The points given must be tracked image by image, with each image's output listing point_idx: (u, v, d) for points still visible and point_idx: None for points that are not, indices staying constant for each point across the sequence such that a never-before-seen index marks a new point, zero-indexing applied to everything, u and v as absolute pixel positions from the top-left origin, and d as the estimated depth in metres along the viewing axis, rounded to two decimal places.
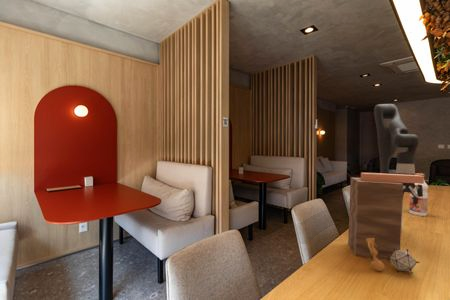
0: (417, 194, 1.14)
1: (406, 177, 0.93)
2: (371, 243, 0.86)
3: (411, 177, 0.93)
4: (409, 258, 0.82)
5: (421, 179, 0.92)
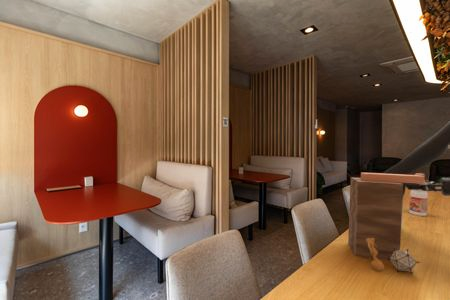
0: None
1: (406, 177, 0.93)
2: (371, 243, 0.86)
3: (411, 177, 0.93)
4: (409, 258, 0.82)
5: (422, 179, 0.92)
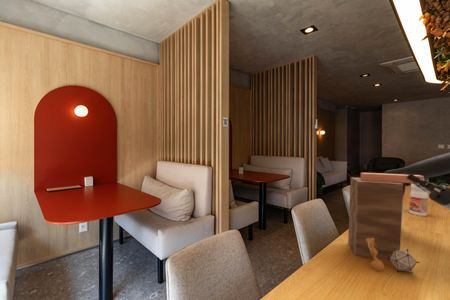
0: None
1: (406, 177, 0.93)
2: (371, 243, 0.86)
3: None
4: (409, 258, 0.82)
5: None
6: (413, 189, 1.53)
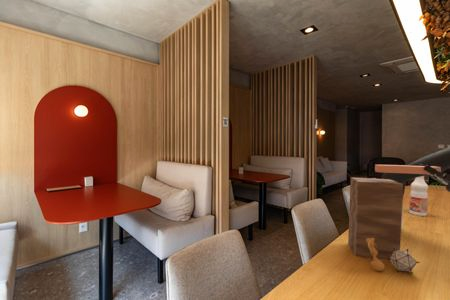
0: None
1: (422, 168, 0.92)
2: (371, 243, 0.86)
3: None
4: (409, 258, 0.82)
5: None
6: (413, 189, 1.53)
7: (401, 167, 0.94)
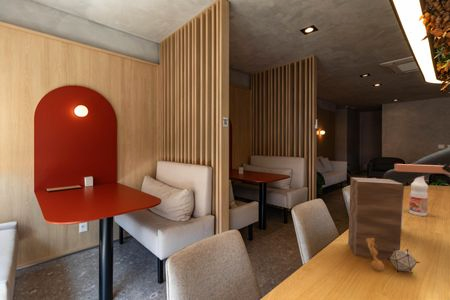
0: None
1: (441, 168, 0.96)
2: (371, 243, 0.86)
3: None
4: (409, 258, 0.82)
5: None
6: (413, 189, 1.53)
7: (420, 166, 0.98)
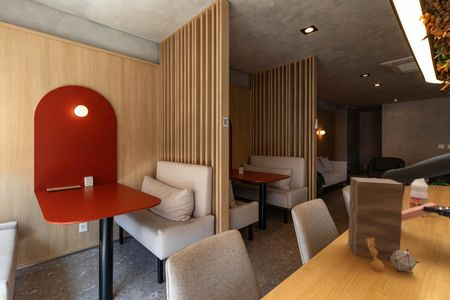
0: None
1: (422, 210, 1.00)
2: (371, 243, 0.86)
3: None
4: (409, 258, 0.82)
5: (435, 207, 0.99)
6: (413, 189, 1.53)
7: (404, 215, 1.02)
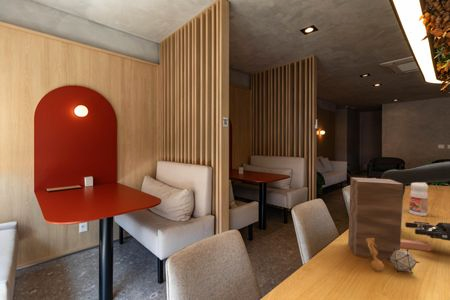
0: None
1: (415, 245, 1.03)
2: (371, 243, 0.86)
3: (420, 245, 1.02)
4: (409, 258, 0.82)
5: (429, 247, 1.01)
6: (413, 189, 1.53)
7: None
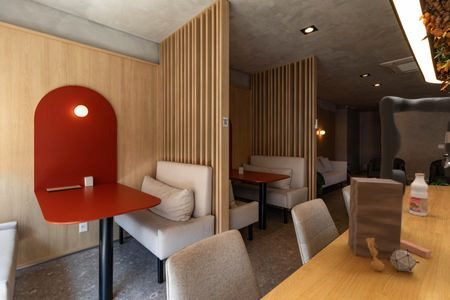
0: None
1: (410, 247, 1.00)
2: (371, 243, 0.86)
3: (414, 249, 0.99)
4: (409, 258, 0.82)
5: (423, 254, 0.96)
6: (413, 189, 1.53)
7: None
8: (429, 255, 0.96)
